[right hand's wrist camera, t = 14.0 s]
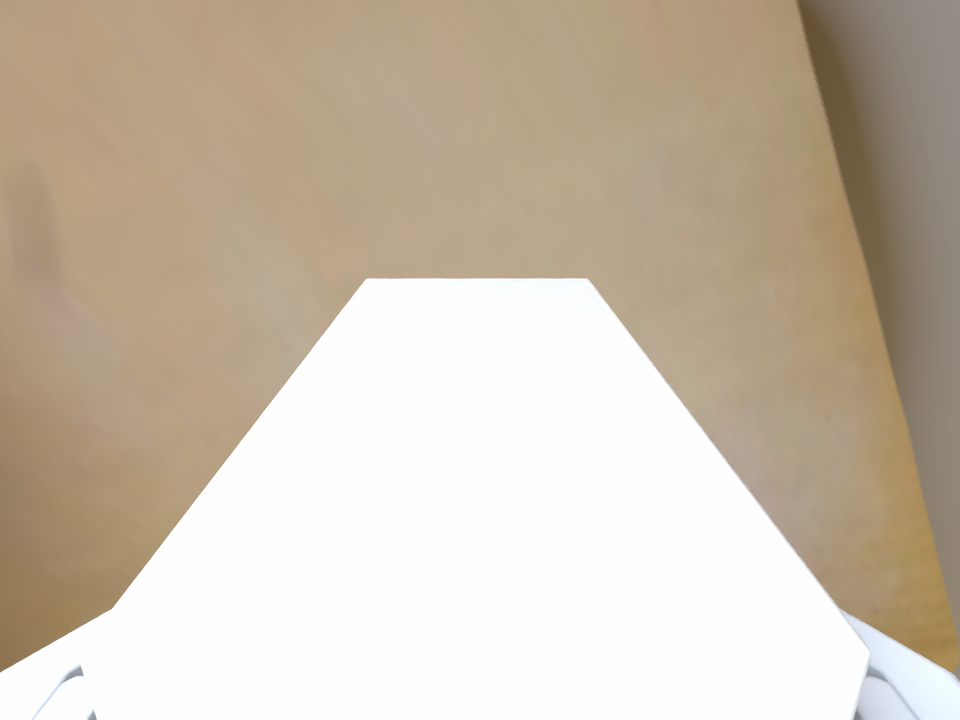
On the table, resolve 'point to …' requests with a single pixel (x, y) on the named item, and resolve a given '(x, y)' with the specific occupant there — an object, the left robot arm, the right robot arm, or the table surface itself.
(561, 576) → the box
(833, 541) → the table surface
